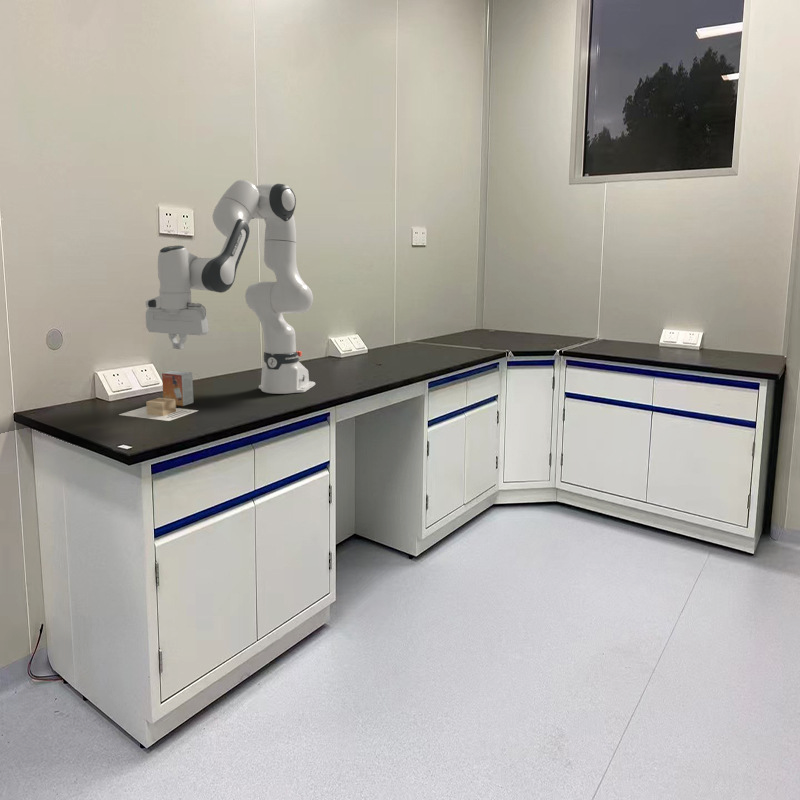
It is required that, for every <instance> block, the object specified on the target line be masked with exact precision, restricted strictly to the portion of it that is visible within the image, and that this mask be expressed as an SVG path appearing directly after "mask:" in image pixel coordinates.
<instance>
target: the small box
mask: <svg viewBox="0 0 800 800" xmlns="http://www.w3.org/2000/svg"><path fill="white" fill-rule="evenodd" d="M161 376H162V377H161V380H162V381H161V382H162V398H168V399H175V403H176V406H180V407H184V406H188V405H191V404H194V401H195V400H194V387H193V386H194V384H193V383H194V382H193V372H192V371H190V372H189V371H177V370H169V371H166V372H162V374H161Z"/></svg>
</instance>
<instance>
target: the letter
mask: <svg viewBox="0 0 800 800" xmlns="http://www.w3.org/2000/svg"><path fill="white" fill-rule="evenodd" d="M198 411H199V410H196V409H188V408H180V407H178V408H177V407H176V412H174V413H171V414H168V415H165V416H158V415H150V414H147V405H146V406H142V407H140V408H136V409H132V410H130V411H126V412H123V413H119V414H118V416H126V417H133V418H135V417H136V418H140V419H151V420H159V421H166V422H170V421H173V420H176V419H179V418H181V417H185V416H188V415H190V414H193V413H196V412H198Z"/></svg>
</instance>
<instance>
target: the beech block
mask: <svg viewBox="0 0 800 800" xmlns="http://www.w3.org/2000/svg"><path fill="white" fill-rule="evenodd" d="M145 404H146V406H147V414H150V415H158V416H165V415H168V414H171V413H174V412H176V408H177V405H176V403H175V399H168V398H163V397H157V398H154V399H151V400H148V401H146V403H145Z"/></svg>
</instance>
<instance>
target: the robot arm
mask: <svg viewBox="0 0 800 800" xmlns="http://www.w3.org/2000/svg"><path fill="white" fill-rule="evenodd" d="M296 203H297V199H296V195H295V193H294V191H293V189H292V188H291V187H290V186H289V185H287V184H285V183H263V184H262V183H261V184H258V185H255V184H254V183H252V182H251V181H249V180H245V179H239V180H238V179H237V180H236V181H234V182H233V183H232V184H231V186H229V187H228V189H227V190H226V191H225V192H224V193H223V195H222V196H221V197H220V199H219V200H218V202H217V204H216V205H215V207H214V209H213V213H212V221H213V223H214V226H215V228H216V229H217V230H218V232H219V233H221V234H222V235H223V236H224V237H226V238H225V241H224V244H223V246H222V249H221V251H220V253H219V254H218V255H216V256H214V257H198V256H196V255H194V254H193V253H191V252H190V251H189V250H187V247H186V246H183V245H172V246H171V245H170V246H165V247H162V248H161V249H160V250H159V252H158V254H157V255H158V256H157V277H158V281H159V283H160V284H159V285H160V286H159V291H158V293H159V294H158V295H159V296H156V297H154V298H150V299H147V300H146V301H145V307H146V308H147V309H146V311H145V327H146V330H147V331H148V332H149V333H156V334H157V333H159V334H160V333H161V334H167V335H168V338H169V340H170V342H171V343H172V349H174V350H184V349H185V342H186V340H187V339H188V336H206V335H208V333H209V331H210V330H209V321H208V316H207V308H206V307H205V305H204V304H202V303H199V302H198V303H197V302H196V303H195V302H192V292H191V291H192V290H198V291H210V292H214V293H215V292H216V293H222V294H223V293H225V292H227V291H228V290H229V289H231V287H232V286H233V285H234V283H235V279H236V274H237V269H238V266H239V263H240V261H241V260H242V259H241V258H242V256H243V253H244V250H245V248H246V245H247V243H248V240H249V238H250V226H249V223H250V222H251V220H252V219H258V220H264V223H265V229H264V242H263V243H264V244H263V245H264V246H263V263H264V264H265V266H266V267H267V268H268V270H269V269H270V270H271V271H272V272H273V273H274V276H275V278H276V281H265V280H264V281H258V282H254V283H251V284H249V285H248V287H247V288H246V291H245V295H244V297H245V303H246V305H247V307H249V309H251V310H252V312H253V313H255V315H256V317H257V318H258V320H259V322H260V324H261V327H262V332H263V339H264V340H263V341H264V351H263V362H264V364H263V365H262V367H261V379H260V380H261V381H260V384H258V389H259V390H261V392H263V393H265V394H280V395H281V394H284V395H287V394H295V393H299V394H300V393H305V392H307V391H308V390H310V389H311V388H313V387H315V385H316V382H315V381H311V380H310V377H309V376H310V374H309V369H307V368H306V367H305V366H304V365H303V364H302V363H301V362H300V357H302V355H303V351H301V350H299V351H298V350H297V346H296V345H297V344H296V343H297V341H296V340H297V339H296V337H297V336H296V330H295V328H294V327H293V326H292V325H291V324H289V323H288V322H287V321H286V320H285V318H284V315H283V314H285V315H286V314H287V315H288V314H289V315H290V314H291V315H297V314H303V313H308V312H309V311H310V309H311V308H312V305H313V303H314V295H313V291H312V289H311V288H310V287H309V285H307V283H305V282H304V280H303V278H302V277H301V274H300V273H299V269H298V265H297V264H298V263H297V226H296V225H297V224H296V218H295V216H294V213H295V209H296V205H297V204H296ZM177 337H178V338H180V339H179V341H178V338H177Z"/></svg>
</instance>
